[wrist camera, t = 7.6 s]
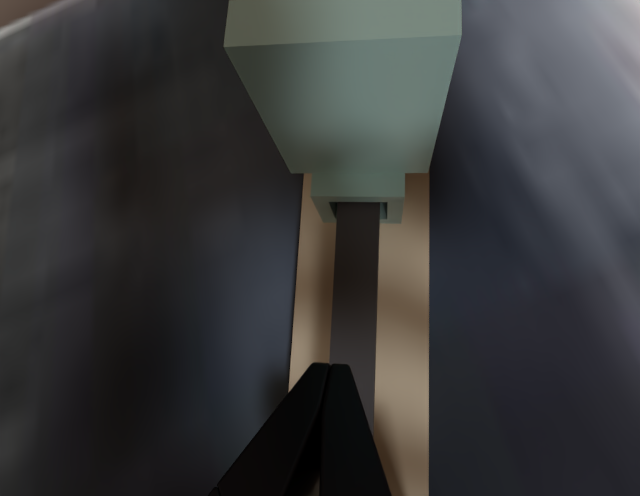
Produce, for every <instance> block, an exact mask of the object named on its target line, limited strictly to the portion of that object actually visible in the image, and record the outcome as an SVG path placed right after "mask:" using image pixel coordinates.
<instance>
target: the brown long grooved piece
mask: <svg viewBox="0 0 640 496" xmlns="http://www.w3.org/2000/svg"><path fill="white" fill-rule="evenodd" d="M311 180H312V173H304V181H303V195H302V209H301V223H300V237H299V251H298V265H297V279H296V293H295V308H294V322H293V336H292V350H291V364H290V378H289V391H290V390H291V389H292V388H293V386H294V385H295V384H296V382H297V381H298V380H299V379H300V377H301V376H302V375H303V373H304V372H305V371H306V370H307V368H308V367H309V366H310V365H311V364H312V363H313V362H322V363H329V364H330V365H332V364H333V363H338V364H348V365H349V366H350V368H351V371H352V374H353V377H354V380H355V383H356V386H357V389H358V392H359V395H360V398H361V402H362V405H363V408H364V411H365V414H366V417H367V420H368V423H369V426H370V429H371V433H372V436H373V439H374V442H375V445H376V448H377V451H378V454H379V457H380V461H381V464H382V467H383V470H384V473H385V476H386V479H387V482H388V485H389V488H390V492H391V495H392V496H428V494H429V171H428V173H405V198H404V206H403V214H402V221H401V224H386V223H380V202H337V222H336V223H323V221H322V219H321V217H320V215H319V213H318V211H317V209H316V207H315V205H314V203H313V201H312V199H311V196H310V195H311ZM288 393H289V392H288Z"/></svg>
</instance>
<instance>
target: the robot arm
mask: <svg viewBox="0 0 640 496" xmlns="http://www.w3.org/2000/svg"><path fill="white" fill-rule="evenodd" d="M217 486H218V487H214V488H213V490H212V491H211V492H210V494H209V495H208V496H392V495H391V492H390V488H389V485H388V482H387V479H386V476H385V473H384V470H383V467H382V464H381V461H380V457H379V454H378V451H377V448H376V445H375V442H374V439H373V436H372V433H371V429H370V426H369V423H368V420H367V417H366V414H365V411H364V408H363V405H362V402H361V398H360V395H359V392H358V389H357V386H356V383H355V380H354V377H353V374H352V371H351V368H350V366H349V365H348V364H338V363H333V364H332V365H330V364H329V363H322V362H313V363H312V364H311V365H310V366H309V367H308V368H307V370H306V371H305V372H304V373H303V375H302V376H301V377H300V379H299V380H298V381H297V382H296V384H295V385H294V386H293V388H292V389H291V390H290V391H289V393H288V394H287V395H286V397H285V398H284V399H283V400H282V402H281V403H280V404H279V405H278V407H277V408H276V409H275V411H274V412H273V413H272V414H271V416H270V417H269V418H268V420H267V421H266V422H265V423H264V425H263V426H262V427H261V429H260V430H259V431H258V432H257V434H256V435H255V436H254V438H253V439H252V440H251V441H250V443H249V444H248V445H247V446H246V448H245V449H244V450H243V452H242V453H241V454H240V455H239V457H238V458H237V459H236V461H235V462H234V463H233V464H232V466H231V467H230V468H229V470H228V471H227V472H226V473H225V475H224V476H223V477H222V479H221V480H220V481H219V482H218V484H217Z"/></svg>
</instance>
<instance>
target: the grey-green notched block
mask: <svg viewBox="0 0 640 496" xmlns="http://www.w3.org/2000/svg"><path fill="white" fill-rule="evenodd" d="M461 36H462V18H461V0H229V5H228V13H227V21H226V30H225V38H224V46H223V47H224V49H225V51H226V53H227V55H228V57H229V59H230V60H231V62H232V64H233V66H234V68H235V70H236V72H237V74H238V75H239V77H240V79H241V81H242V83H243V85H244V87H245V88H246V90H247V92H248V94H249V96H250V98H251V100H252V102H253V103H254V105H255V107H256V109H257V111H258V113H259V115H260V117H261V118H262V120H263V122H264V124H265V126H266V128H267V130H268V132H269V133H270V135H271V137H272V139H273V141H274V143H275V145H276V146H277V148H278V150H279V152H280V154H281V156H282V158H283V160H284V161H285V163H286V165H287V167H288V169H289V171H290V173H312V180H311V195H310V196H311V199H312V201H313V203H314V205H315V207H316V209H317V211H318V213H319V215H320V217H321V219H322V221H323V223H336V222H337V202H380V223H386V224H401V221H402V214H403V206H404V198H405V173H428V171H429V167H430V162H431V158H432V154H433V150H434V146H435V142H436V138H437V134H438V130H439V126H440V122H441V118H442V114H443V110H444V105H445V101H446V97H447V93H448V89H449V85H450V81H451V77H452V73H453V69H454V65H455V61H456V57H457V52H458V48H459V44H460V40H461Z"/></svg>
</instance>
